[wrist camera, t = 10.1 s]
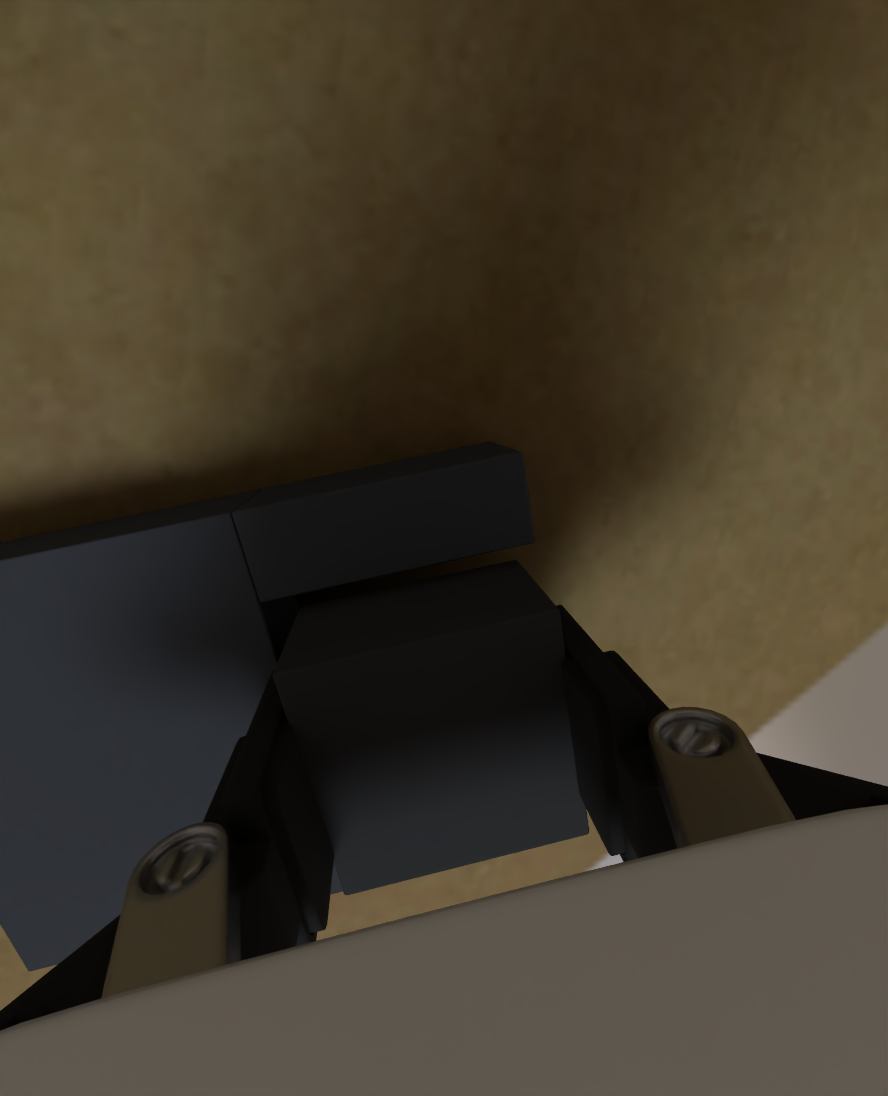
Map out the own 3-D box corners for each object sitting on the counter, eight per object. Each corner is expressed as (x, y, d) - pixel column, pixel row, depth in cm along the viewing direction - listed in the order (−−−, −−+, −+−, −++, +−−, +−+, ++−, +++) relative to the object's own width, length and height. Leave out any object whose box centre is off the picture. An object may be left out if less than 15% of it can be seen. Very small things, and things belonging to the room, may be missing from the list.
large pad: (492, 440, 13) (523, 451, 10) (543, 756, 16) (577, 832, 13) (-64, 555, 12) (-195, 600, 10) (93, 866, 15) (27, 972, 13)
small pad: (516, 558, 12) (561, 609, 9) (545, 740, 13) (590, 834, 10) (299, 606, 11) (270, 674, 9) (352, 787, 13) (343, 897, 10)
